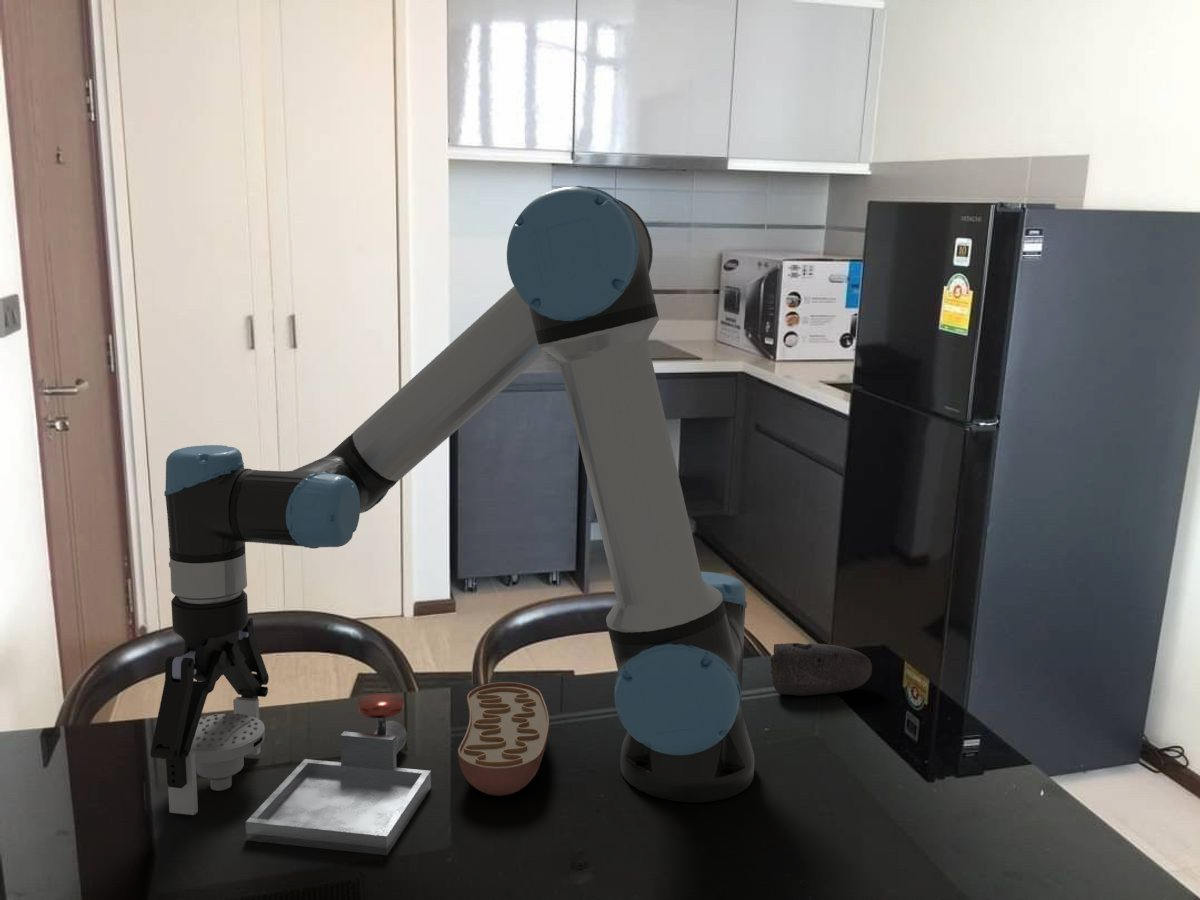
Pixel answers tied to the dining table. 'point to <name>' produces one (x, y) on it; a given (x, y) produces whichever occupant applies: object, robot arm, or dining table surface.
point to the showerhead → (225, 746)
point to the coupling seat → (347, 792)
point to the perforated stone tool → (817, 669)
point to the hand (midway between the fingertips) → (217, 780)
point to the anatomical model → (503, 737)
